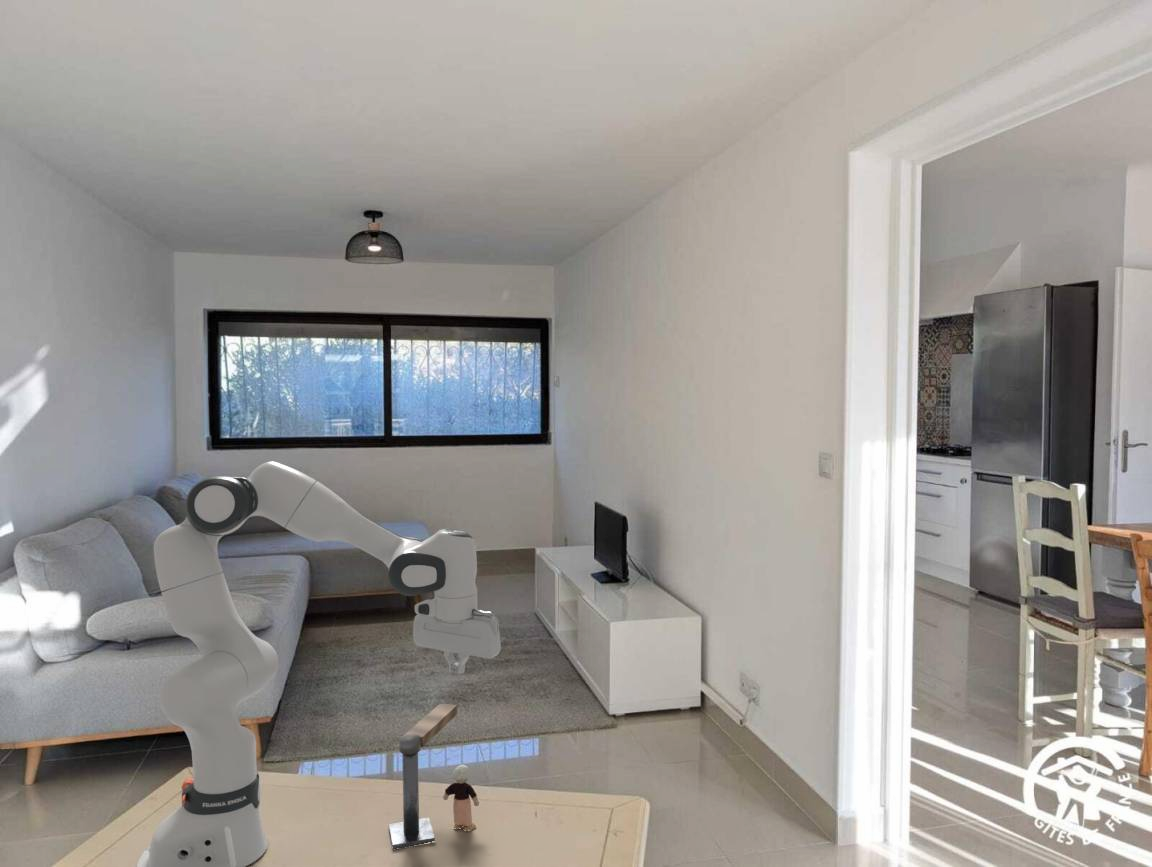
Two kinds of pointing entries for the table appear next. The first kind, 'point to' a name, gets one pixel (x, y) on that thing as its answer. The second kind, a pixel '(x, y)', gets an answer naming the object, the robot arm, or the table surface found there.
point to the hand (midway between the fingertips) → (456, 672)
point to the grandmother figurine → (462, 798)
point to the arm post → (411, 810)
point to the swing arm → (427, 728)
